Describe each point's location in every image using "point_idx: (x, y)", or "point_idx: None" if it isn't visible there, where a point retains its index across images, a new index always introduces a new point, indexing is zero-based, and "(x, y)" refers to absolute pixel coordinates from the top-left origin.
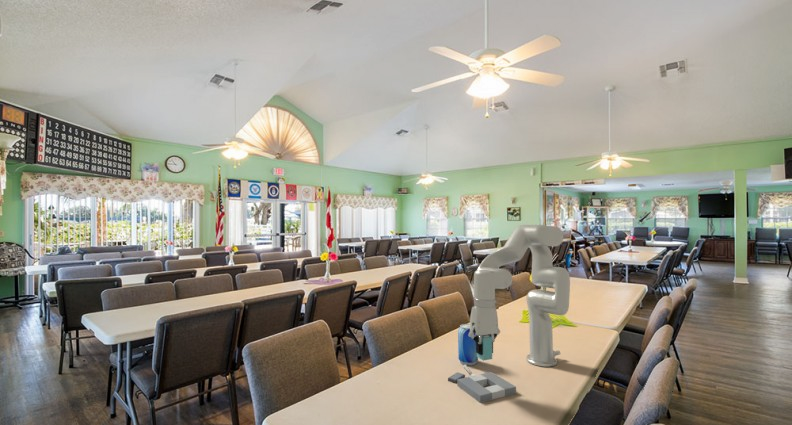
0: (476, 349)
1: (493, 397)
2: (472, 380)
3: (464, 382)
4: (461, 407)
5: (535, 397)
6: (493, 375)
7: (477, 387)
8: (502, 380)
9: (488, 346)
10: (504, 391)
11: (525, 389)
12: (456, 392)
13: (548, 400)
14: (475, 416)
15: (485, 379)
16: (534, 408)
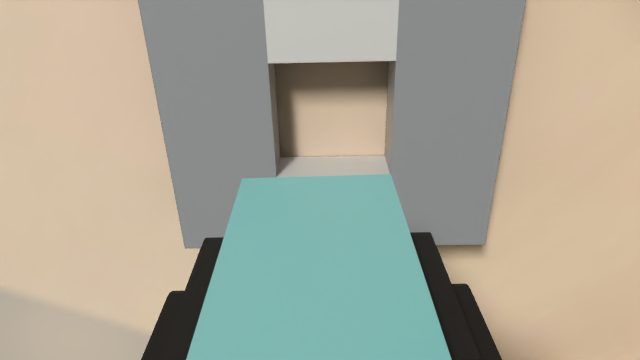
0: (168, 314)
1: None
2: (254, 40)
3: (169, 45)
4: (67, 223)
5: (527, 288)
6: (489, 32)
7: (228, 156)
8: (479, 140)
9: None
10: None
11: (568, 204)
12: (102, 56)
13: (556, 329)
14: (109, 307)
15: (376, 60)
16: None
